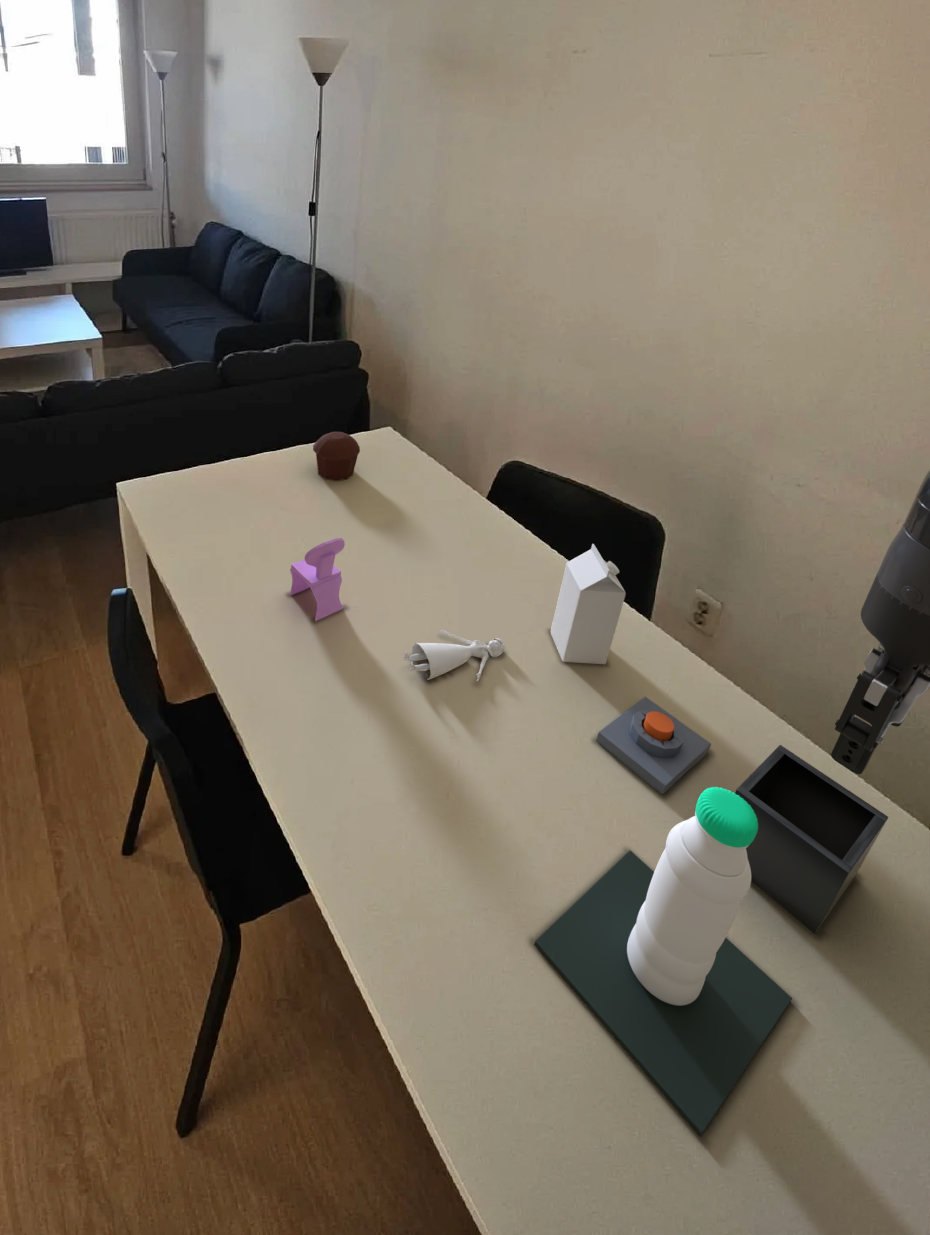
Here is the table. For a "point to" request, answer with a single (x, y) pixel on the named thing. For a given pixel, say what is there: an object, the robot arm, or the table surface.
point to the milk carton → (587, 609)
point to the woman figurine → (451, 654)
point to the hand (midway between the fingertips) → (866, 740)
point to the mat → (648, 1027)
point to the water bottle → (693, 897)
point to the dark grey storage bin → (806, 835)
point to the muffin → (336, 455)
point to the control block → (653, 746)
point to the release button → (658, 726)
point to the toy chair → (320, 576)
